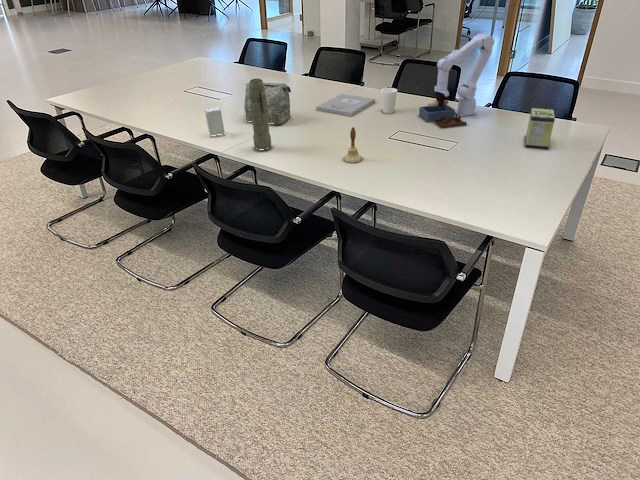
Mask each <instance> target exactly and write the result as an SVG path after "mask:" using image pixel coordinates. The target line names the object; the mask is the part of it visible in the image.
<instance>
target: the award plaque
mask: <svg viewBox="0 0 640 480" xmlns="http://www.w3.org/2000/svg"><path fill="white" fill-rule="evenodd" d="M374 103H376V99H375V98H372V97H367V96H366V97H364V96H359V95H353V94H347V93H340V94H338V95H336V96H335V97H332V98H331V99H328V100H327V101H325V102H323V103H320V104H319V105H317V106H316V108H315V109H316V111H320V112H325V113H329V114H330V113H331V114H336V115H341V116H348V117H353V116H354V115H355V114H357V113H359V112H360V111H361V112H362V111H363V110H364V109H367V108H368V107H370V106H371V105H373V104H374Z"/></svg>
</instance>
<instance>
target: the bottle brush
mask: <svg viewBox="0 0 640 480" xmlns="http://www.w3.org/2000/svg"><path fill="white" fill-rule="evenodd" d="M444 104H447V105H448V104H449V100H448V99H445V102H444ZM437 105H439V101H437V100H436V99H433V100H429V101H428V102H427V106H429V107H434V106H437Z"/></svg>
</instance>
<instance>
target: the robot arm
mask: <svg viewBox="0 0 640 480" xmlns="http://www.w3.org/2000/svg"><path fill="white" fill-rule="evenodd" d="M494 45H495V38H494V36H492V35H488V34H486V33H483V32H478V33H477V34H476V35H474V36H473V37H472V39H471V40H470V41H468V42H467V43H465V45H463V46H462V47H461V48H459V49H453V50H452V51H451V53H449V54H447V55H446V56H444V57H443V58H440V59H439V60H438V62H437V63H436V67H437V80H436V85H434V87H433V88H434V95H435V100H436V101H439V106H443V104H444V102H445V100H447V98H448V97H449V96H450V92H449V90H448V81H449V73H450V71H451V69H452V67H453V66H454V65H455V64H456V63H458V62H459V61H460V60H462V59H463V56H464V55H465V54H467V53H469V52H470V51H472V50H473V49H475V48H478V50H479V55H478V57H477V59H476V60H475V63H474V64H473V67H472V69H471V71H470V73H469V75H468V77H467V79H466V80H464V81H463V82H462V83H461V85H460V86H459V87H458V88H457V92H456V93H457V95H458V104H457V110H455V114H458V117H459V116H461V117H466V116H472V115H476V105H477V100H476V98H475V95H476V91H477V82H478V80H479V79H480V76H481V74H482V73H483V71H484V69H485V67H486V65H487V63H488V61H489V59H490V57H491V56H492V53H493V46H494Z"/></svg>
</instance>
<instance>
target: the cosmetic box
mask: <svg viewBox="0 0 640 480" xmlns="http://www.w3.org/2000/svg"><path fill="white" fill-rule="evenodd" d="M204 114H205V119H206V125H207V129H208V134H209V133H210V134H209V136H210V135H216V136H210V138H211V139H213V138H217V137H223V136H226V132H225V127H224V121H223V115H222V109H221V108H220V107H219V106H215V107H209V108H206V109H205V108H204ZM224 133H225V134H224ZM217 134H222V135H217Z"/></svg>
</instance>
